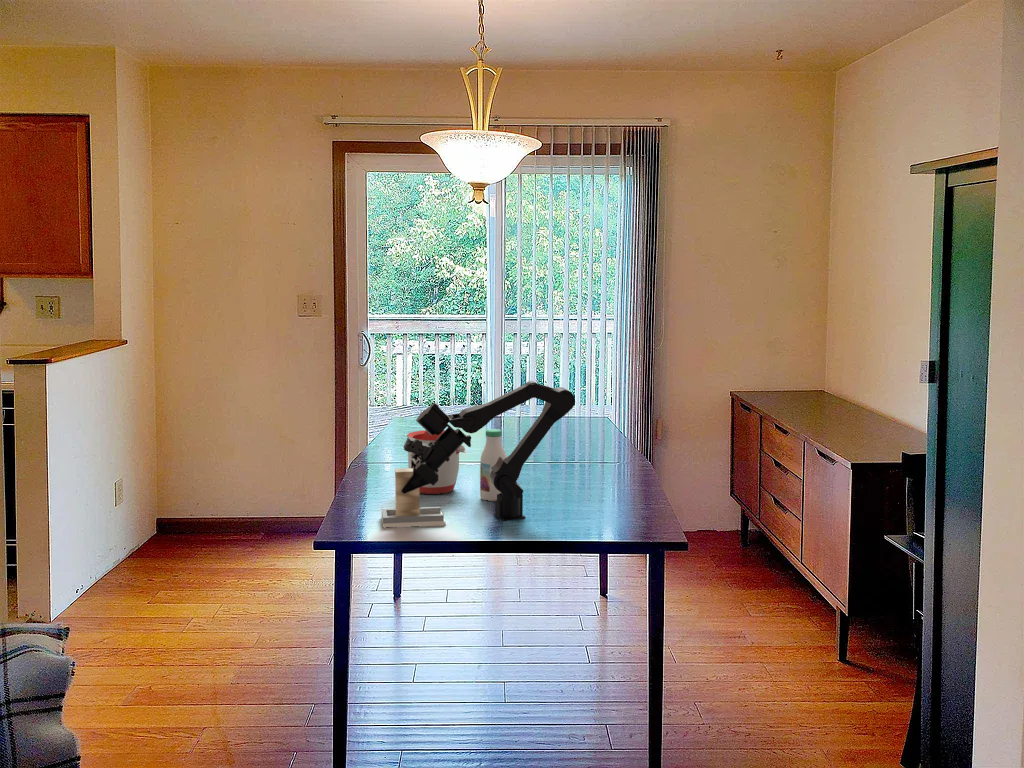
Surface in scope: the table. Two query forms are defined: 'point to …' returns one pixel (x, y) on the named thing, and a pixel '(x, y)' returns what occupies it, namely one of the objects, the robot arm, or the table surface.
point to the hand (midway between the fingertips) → (402, 490)
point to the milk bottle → (490, 463)
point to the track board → (414, 518)
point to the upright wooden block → (406, 494)
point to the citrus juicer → (446, 470)
